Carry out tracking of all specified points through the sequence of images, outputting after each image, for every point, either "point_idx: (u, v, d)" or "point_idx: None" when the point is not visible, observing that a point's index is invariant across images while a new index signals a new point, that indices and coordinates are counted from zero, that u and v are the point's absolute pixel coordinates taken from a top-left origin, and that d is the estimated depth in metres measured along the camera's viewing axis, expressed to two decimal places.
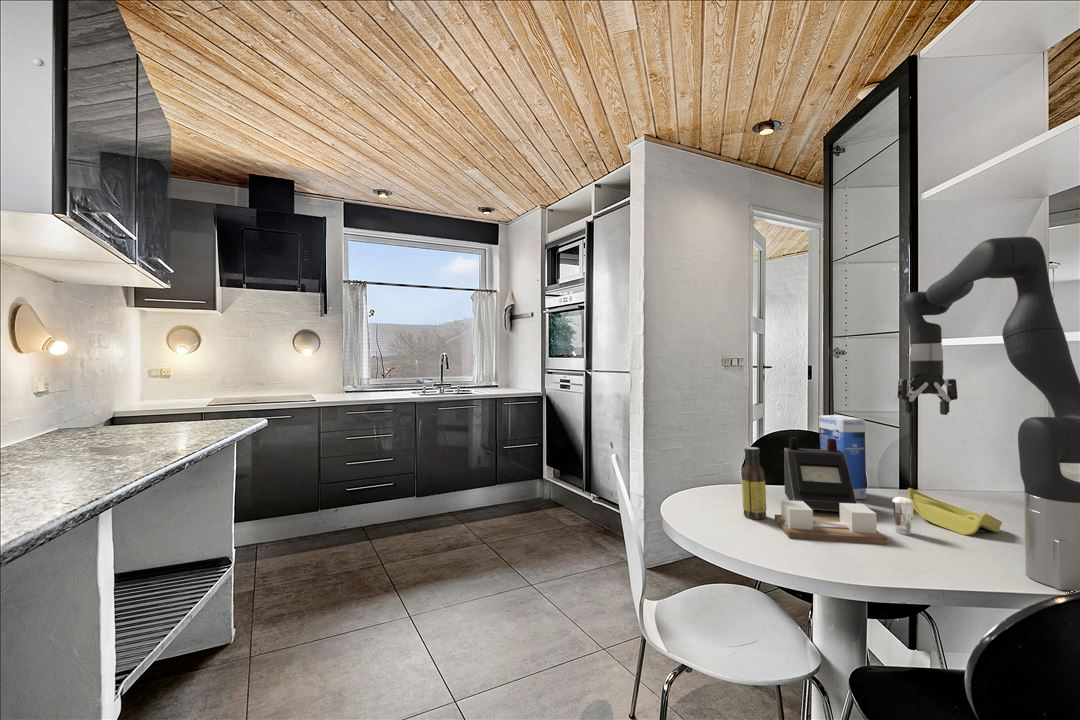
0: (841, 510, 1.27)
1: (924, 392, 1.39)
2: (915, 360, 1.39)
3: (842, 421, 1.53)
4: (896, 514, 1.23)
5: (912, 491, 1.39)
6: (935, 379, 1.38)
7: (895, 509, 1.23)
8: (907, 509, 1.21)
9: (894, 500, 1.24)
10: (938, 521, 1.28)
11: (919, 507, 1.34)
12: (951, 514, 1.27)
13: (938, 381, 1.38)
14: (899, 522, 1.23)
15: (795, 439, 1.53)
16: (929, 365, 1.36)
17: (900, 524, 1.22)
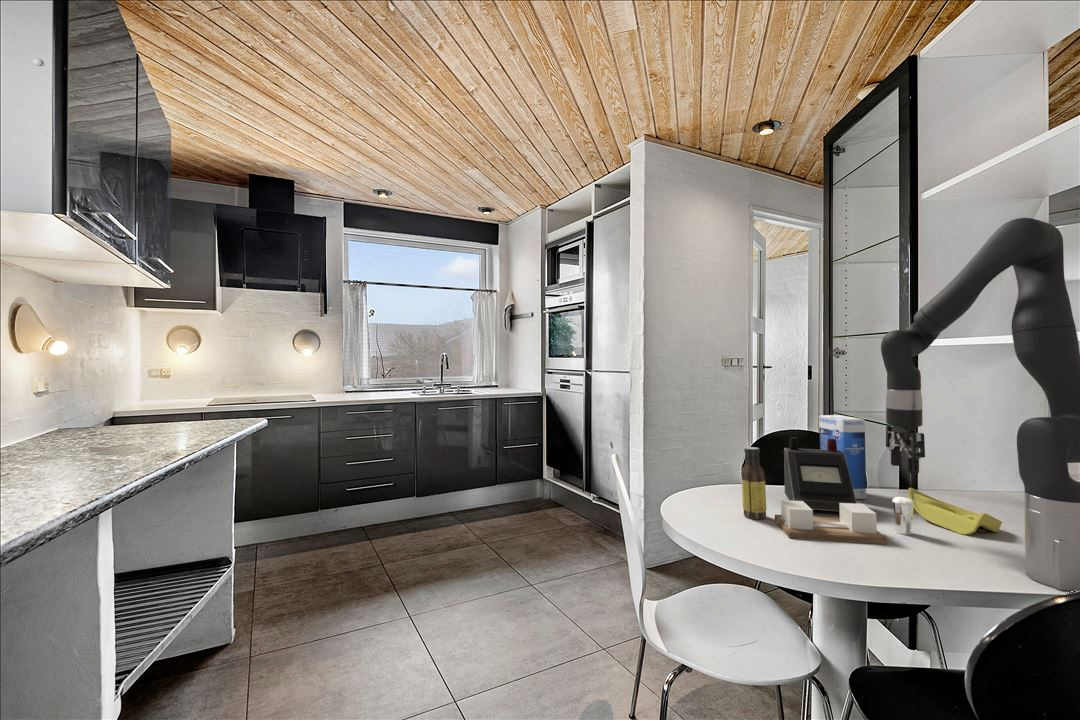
0: (841, 510, 1.27)
1: None
2: (916, 409, 1.19)
3: (842, 421, 1.53)
4: (896, 514, 1.23)
5: (913, 491, 1.39)
6: None
7: (895, 509, 1.23)
8: (907, 509, 1.21)
9: (894, 500, 1.24)
10: (938, 521, 1.28)
11: (919, 507, 1.34)
12: (951, 514, 1.27)
13: None
14: (899, 522, 1.23)
15: (795, 439, 1.53)
16: None
17: (900, 524, 1.22)
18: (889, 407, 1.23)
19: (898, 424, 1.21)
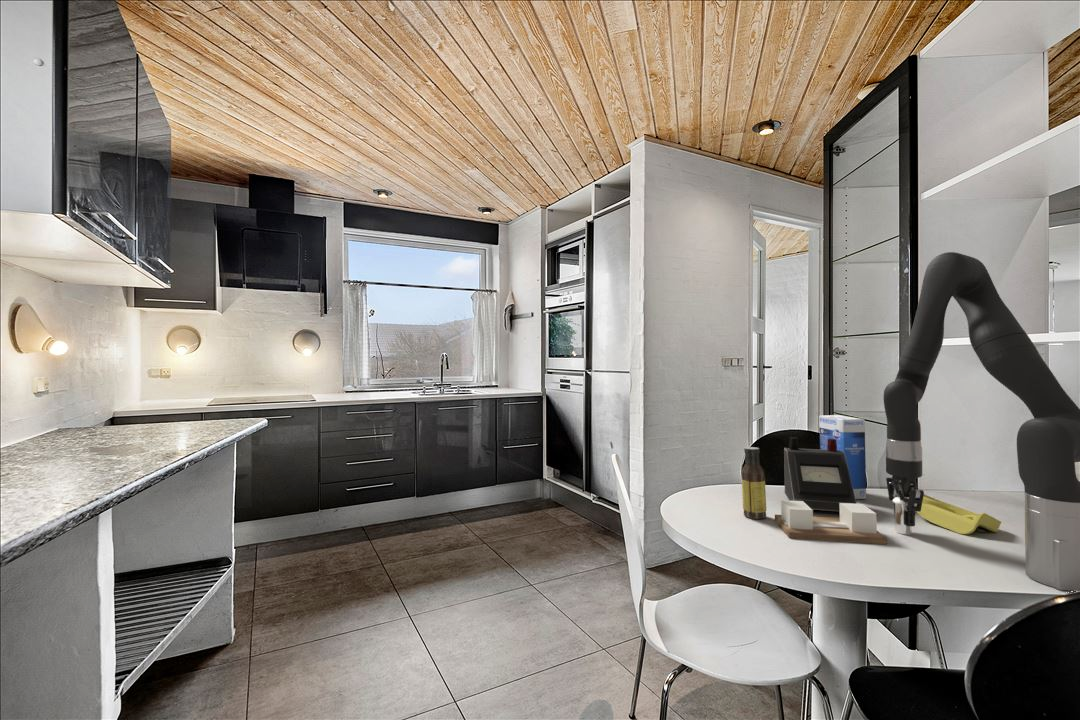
0: (841, 510, 1.27)
1: None
2: (916, 460, 1.19)
3: (842, 421, 1.53)
4: (896, 514, 1.23)
5: None
6: None
7: (895, 509, 1.23)
8: None
9: (894, 500, 1.23)
10: (937, 520, 1.29)
11: None
12: (950, 513, 1.27)
13: None
14: (899, 522, 1.23)
15: (795, 439, 1.53)
16: None
17: (900, 524, 1.22)
18: (889, 457, 1.23)
19: (898, 475, 1.21)
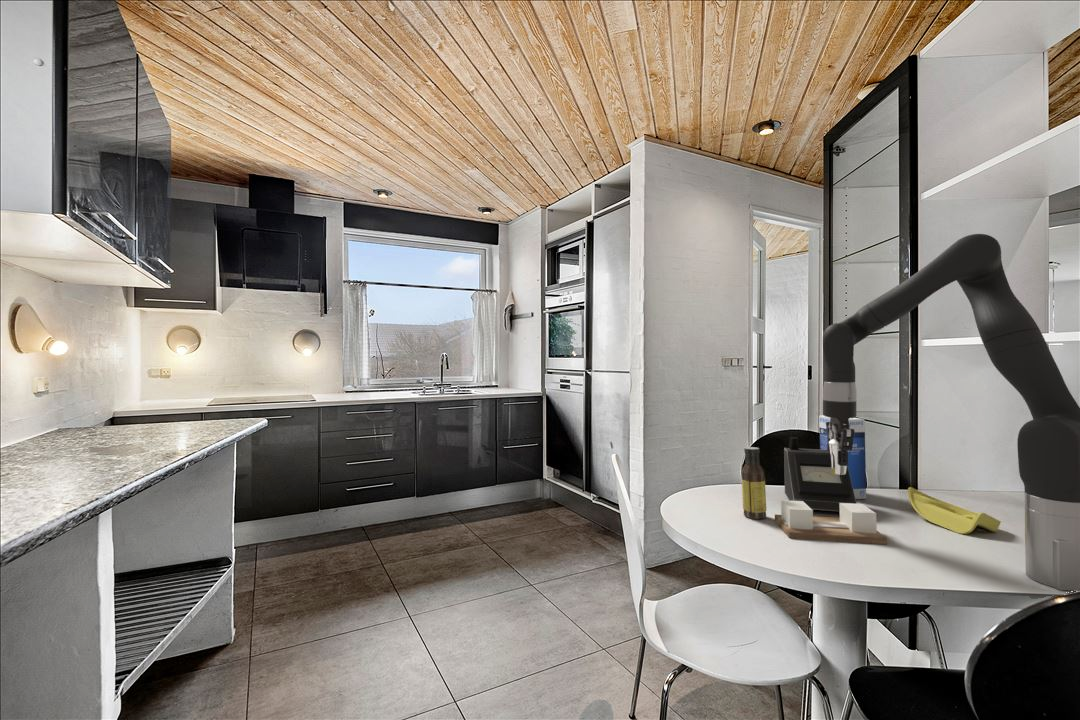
0: (841, 510, 1.27)
1: None
2: (849, 401, 1.22)
3: None
4: (831, 455, 1.26)
5: (913, 490, 1.39)
6: None
7: (831, 450, 1.26)
8: None
9: (830, 441, 1.26)
10: (936, 520, 1.29)
11: (918, 506, 1.35)
12: (949, 513, 1.27)
13: None
14: (834, 463, 1.25)
15: (795, 439, 1.53)
16: None
17: (835, 464, 1.25)
18: (825, 399, 1.26)
19: (832, 415, 1.24)
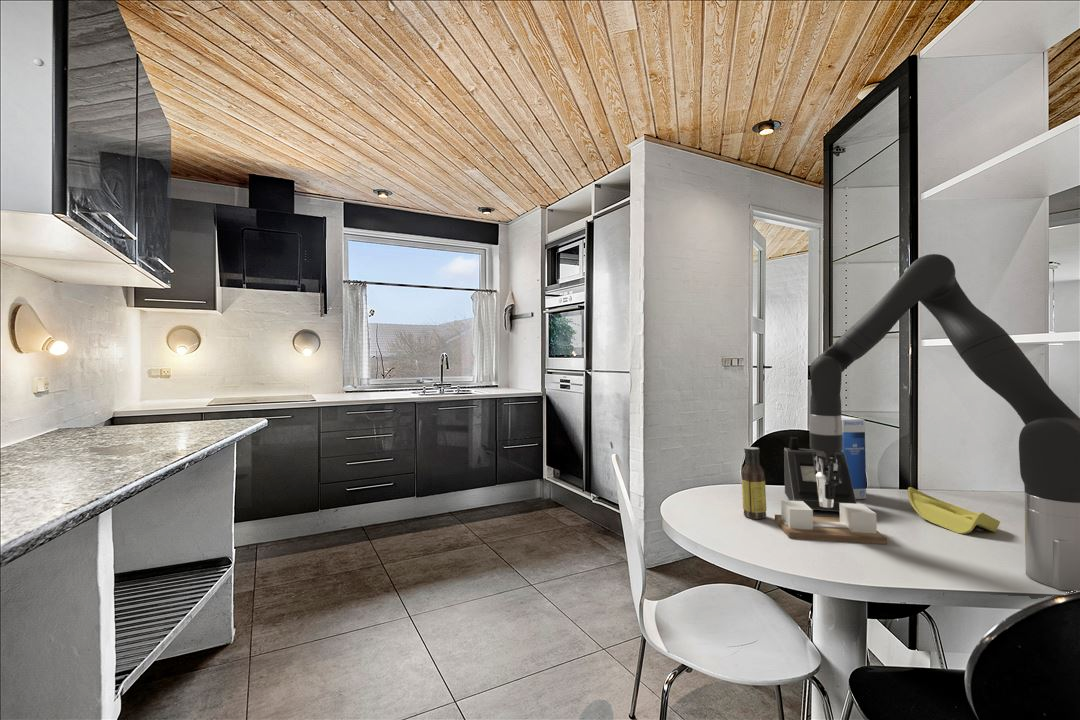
0: (841, 510, 1.27)
1: None
2: (836, 435, 1.22)
3: (842, 421, 1.53)
4: (819, 488, 1.25)
5: (912, 490, 1.39)
6: None
7: (818, 483, 1.25)
8: None
9: (817, 474, 1.26)
10: (935, 520, 1.29)
11: (918, 506, 1.35)
12: (949, 513, 1.28)
13: None
14: (821, 496, 1.25)
15: (795, 439, 1.53)
16: (842, 439, 1.23)
17: (822, 498, 1.25)
18: (811, 432, 1.25)
19: (819, 449, 1.23)
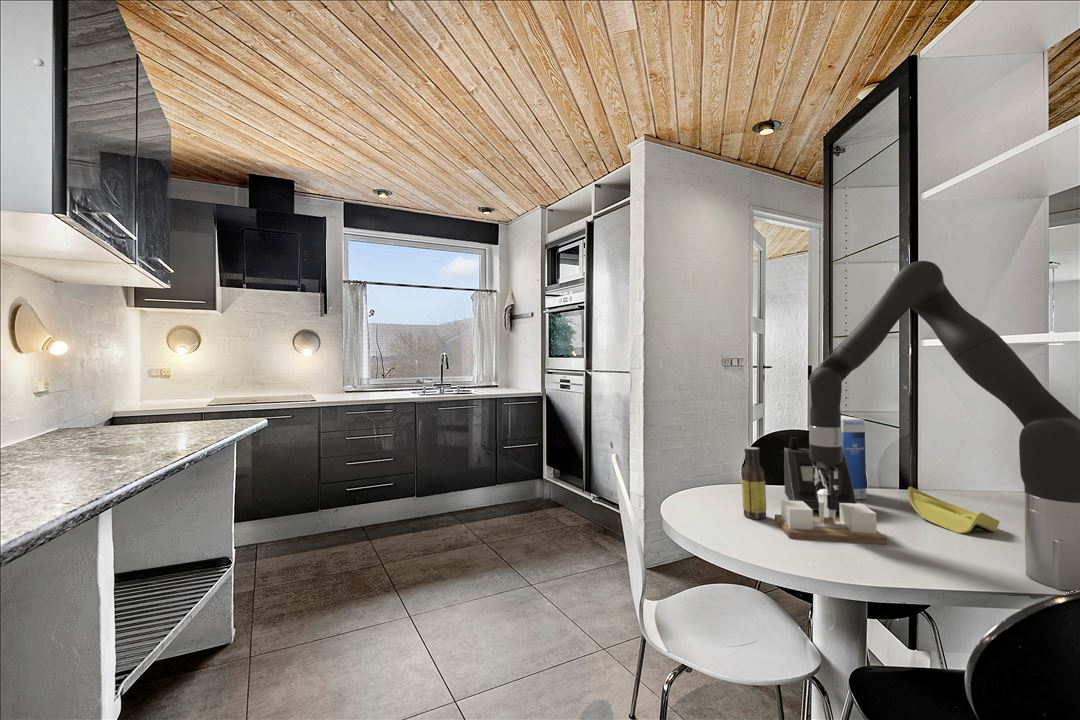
0: (841, 510, 1.27)
1: None
2: (836, 446, 1.22)
3: (842, 421, 1.53)
4: (820, 506, 1.25)
5: (912, 490, 1.40)
6: None
7: (819, 501, 1.25)
8: None
9: (818, 492, 1.25)
10: (935, 519, 1.29)
11: (918, 506, 1.35)
12: (948, 513, 1.28)
13: None
14: (823, 514, 1.24)
15: (795, 439, 1.53)
16: (842, 450, 1.23)
17: (823, 516, 1.24)
18: (811, 443, 1.25)
19: (819, 460, 1.23)
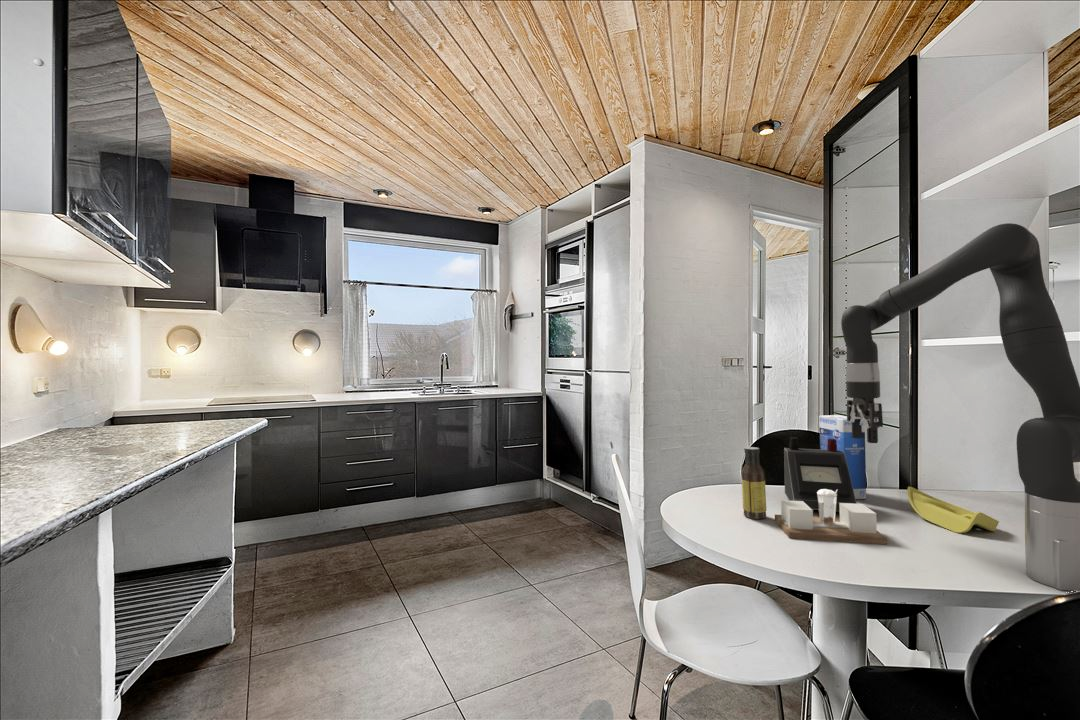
0: (841, 510, 1.27)
1: None
2: (874, 381, 1.24)
3: (842, 421, 1.53)
4: (820, 506, 1.25)
5: (912, 490, 1.40)
6: None
7: (819, 501, 1.25)
8: (829, 501, 1.23)
9: (818, 492, 1.25)
10: (934, 519, 1.30)
11: (917, 505, 1.35)
12: (947, 512, 1.28)
13: None
14: (822, 514, 1.24)
15: (795, 439, 1.53)
16: None
17: (823, 516, 1.24)
18: (849, 380, 1.27)
19: (857, 396, 1.25)
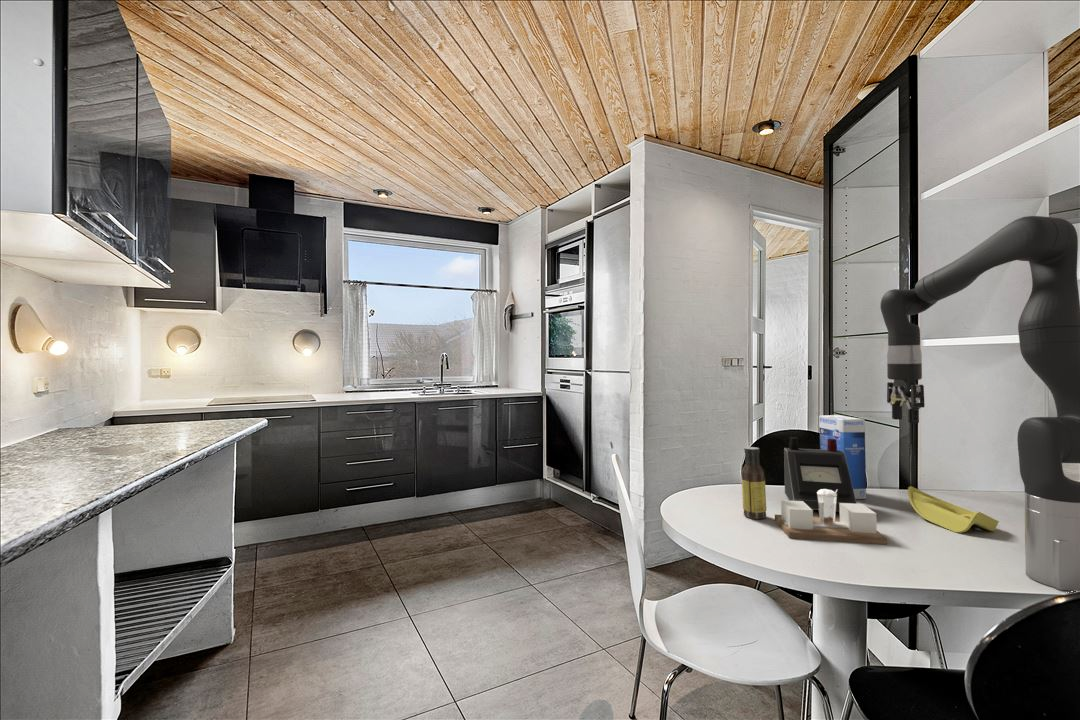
0: (841, 510, 1.27)
1: None
2: (916, 363, 1.26)
3: (842, 421, 1.53)
4: (820, 506, 1.25)
5: (913, 489, 1.40)
6: None
7: (819, 501, 1.25)
8: (829, 501, 1.23)
9: (818, 492, 1.25)
10: (934, 519, 1.30)
11: (917, 505, 1.36)
12: (947, 512, 1.28)
13: None
14: (822, 514, 1.24)
15: (795, 439, 1.53)
16: None
17: (823, 516, 1.24)
18: (890, 362, 1.30)
19: (899, 378, 1.28)
